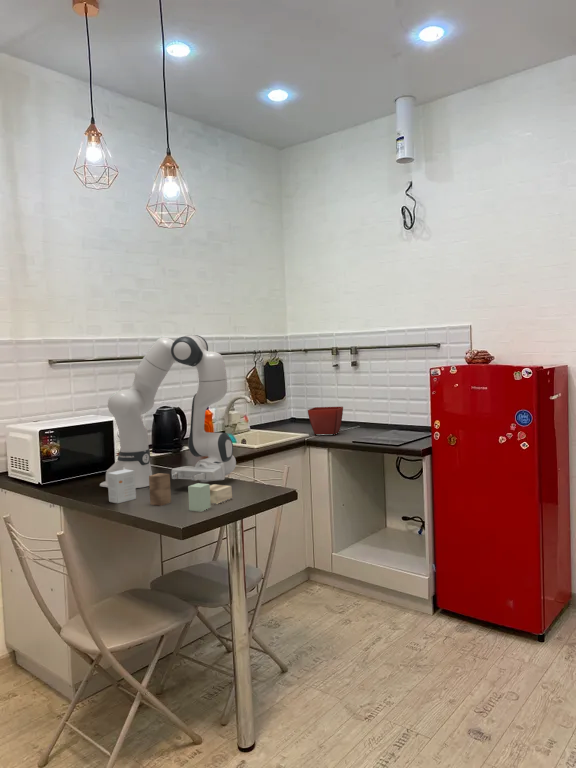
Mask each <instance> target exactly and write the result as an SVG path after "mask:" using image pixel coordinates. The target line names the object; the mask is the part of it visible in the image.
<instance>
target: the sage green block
mask: <svg viewBox="0 0 576 768" xmlns="http://www.w3.org/2000/svg"><path fill="white" fill-rule="evenodd" d="M210 485H211V484H209V483H202V482H200V483H199V482H198V483H194V484H191V485H188V486H187V490H188V492H187V493H188V510H189V512H190V511H191V512H201V513H202V512H205V511H207V510H209V509H208V508H210V507H211V508H212V504H211V502H210ZM211 508H210V509H211ZM206 509H207V510H206ZM204 510H205V511H204Z"/></svg>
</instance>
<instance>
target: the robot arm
mask: <svg viewBox="0 0 576 768" xmlns="http://www.w3.org/2000/svg"><path fill="white" fill-rule="evenodd" d="M175 362H177V363H179V364H182V365H185V366H190V367H195V368H196V370H197V374H198V375H197V376H198V389H197V392H196V393H194V395H193V397H192V402H191V412H190V413H191V415H190V427H189V428H190V431H189V435H188V436H189V437H188V440H187V447H188V450H189V452H190V454H192V456H193V457H196V458H199V457H207V458H203V459H200V460H198V461H197V462H196V463H195V465H194V466H193V465H192V466H191V465H189V466H180V467H174V468H172V469H171V479H172V480H179V479H180V480H191V481H199V482H200V483H209V482H213V481H215V482H216V481H223V480H225V479H226V476H228V475H230V474H232V473H233V471H234V470H235V468H236V466H237V461H236V458H235V456H234V455H233V453H234V444H233V443H234V442H233V441H232V439H231V437H230V436H229V434H228V433H227V432H216V431H215V432H209V431H206V430H205V421H206V411H207V409H208V408H209V407H210V406H212V405H213V404H215V403H218V402H220V401H221V400H222V399H224V397H225V396H226V394H227V391H228V377H227V369H226V365H225V361H224V357H223V355H222V354H221V353H219V352H217V351H209V345H208V343H207V340H206V339H205V338H204V337H202V336H201V335H198V334H187V335H185V336H179V337H178V338H176V339H175V340H173V339H171V338H170V337H165V336H164V337H162V336H161V337H159V338H157V340H155V341H154V343H152V345H151V347H149V349H148V351H147V352H145V355H144V356H143V358H142V359H141V361H140V362H139V365H138V366H137V367H136V369H135V371H134V379H133V382H132V384H131V385H130V387H129V388H128V389H120V390H118V391H116V392H115V393H113V394H112V395H111V396H110V397H109V398H108V400H107V409H108V411H109V413H110V414H111V415H112V416H113V418H114V420H115V423H116V427H117V429H118V434H119V446H120V447H119V448H120V451H119V452H116V453H115V457H117V460H116V461H115V462H114V463H113V464H112V465H111V466H110V467H109V468H108V469H106V472H105V481H102V482H101V483H99V487H103V488H107V489H108V477H107V473H110V472H115V471H119V470H124V469H127V470H134V472H135V488H136V489H139V488H145V487H149V476H150V475H153V471H152V466H151V462H150V459H151V450H150V448H149V433H148V429H147V427H146V426H145V424H144V422H143V419H142V415H144V414H146V413H148V412H149V411H150V410H152V409H153V407H154V405H155V397H156V395H157V393H158V389H160V388H159V387H160V385H161V384H162V382H163V381H164V380H165V378H166V376H167V374H168V373H169V371H170V370H171V367H172V366H173V364H174V363H175Z"/></svg>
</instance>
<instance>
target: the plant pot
mask: <svg viewBox="0 0 576 768" xmlns="http://www.w3.org/2000/svg"><path fill="white" fill-rule="evenodd" d="M343 413H344V406H321V407H320V406H319V407H318V406H317V407H312V408H309V409H307V415H308V419H309V424H310V425H311V429H312V431H313V433H314V435H315V434H336V433H338V432H339V433H340V429H341V425H342V420H343ZM339 433H338V434H339ZM336 435H337V434H336Z"/></svg>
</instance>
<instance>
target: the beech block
mask: <svg viewBox="0 0 576 768" xmlns="http://www.w3.org/2000/svg"><path fill="white" fill-rule="evenodd" d="M232 489H233V488H232V485H226V484H225V485H224V484H216V483H215V484H210V502H211V503H216V504H218V503H220V502H222V501H225V500H227V499H230V498H232V499H233V490H232Z"/></svg>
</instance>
